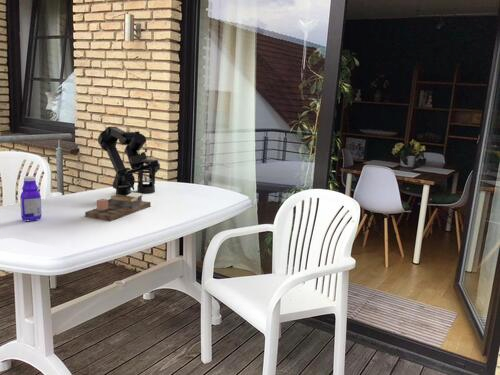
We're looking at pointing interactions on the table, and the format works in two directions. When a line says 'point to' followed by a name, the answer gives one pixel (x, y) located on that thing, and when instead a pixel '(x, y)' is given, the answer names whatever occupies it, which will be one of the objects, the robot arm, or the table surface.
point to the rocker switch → (135, 194)
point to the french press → (145, 179)
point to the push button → (123, 198)
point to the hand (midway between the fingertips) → (144, 186)
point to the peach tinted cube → (102, 204)
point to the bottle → (30, 200)
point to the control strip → (118, 209)
